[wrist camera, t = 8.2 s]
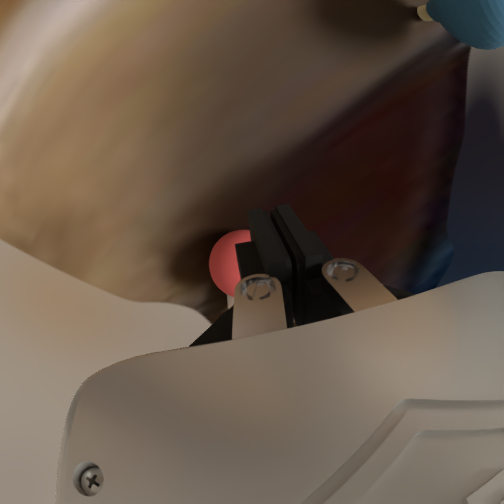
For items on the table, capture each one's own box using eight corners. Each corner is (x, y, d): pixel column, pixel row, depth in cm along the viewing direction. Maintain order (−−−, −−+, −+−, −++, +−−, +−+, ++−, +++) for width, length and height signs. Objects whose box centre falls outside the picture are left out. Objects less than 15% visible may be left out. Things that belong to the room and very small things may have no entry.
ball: (212, 314, 25) (215, 268, 30) (280, 309, 25) (274, 264, 30) (200, 262, 22) (207, 219, 26) (282, 257, 22) (273, 214, 26)
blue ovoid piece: (424, 62, 21) (516, 70, 11) (374, -1, 17) (462, -28, 7) (456, 29, 19) (538, 32, 8) (413, -29, 15) (492, -49, 5)
